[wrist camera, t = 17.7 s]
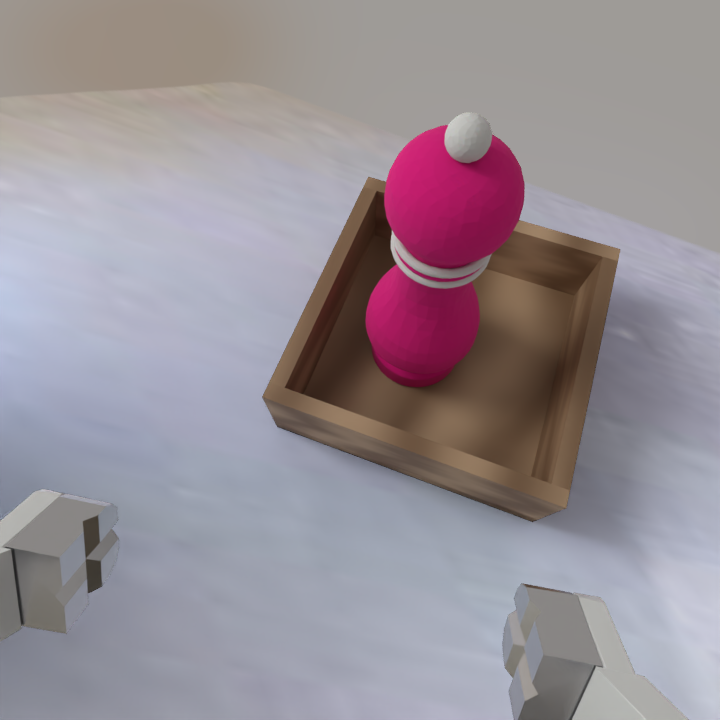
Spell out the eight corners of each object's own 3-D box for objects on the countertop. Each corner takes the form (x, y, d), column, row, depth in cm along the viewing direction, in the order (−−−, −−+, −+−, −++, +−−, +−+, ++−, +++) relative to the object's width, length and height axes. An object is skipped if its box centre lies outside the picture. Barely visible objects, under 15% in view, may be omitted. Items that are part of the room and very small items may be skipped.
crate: (277, 426, 36) (262, 397, 30) (367, 229, 43) (368, 176, 37) (532, 521, 33) (566, 508, 28) (585, 296, 40) (620, 249, 35)
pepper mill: (448, 409, 35) (549, 223, 17) (349, 374, 36) (344, 162, 18) (476, 321, 38) (590, 78, 20) (384, 291, 39) (409, 32, 21)
